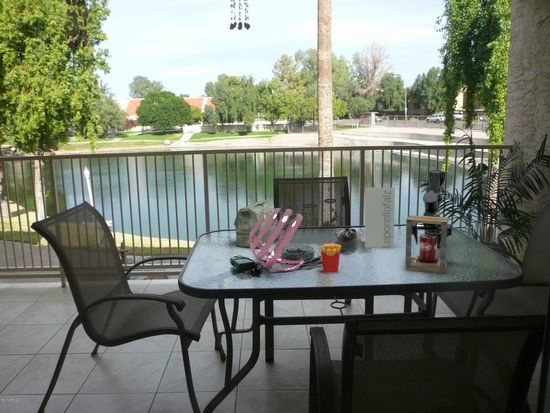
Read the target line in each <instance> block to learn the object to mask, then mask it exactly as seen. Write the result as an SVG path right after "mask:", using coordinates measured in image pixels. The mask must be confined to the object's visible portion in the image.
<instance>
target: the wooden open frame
mask: <svg viewBox="0 0 550 413" xmlns="http://www.w3.org/2000/svg"><path fill="white" fill-rule="evenodd" d="M405 221H406V225H405V228H406V229H405V231H406V232H405V263H404V265H405V269H404V270H405V271H411V272H421V273H422V272H423V273H431V274H432V273H433V274H441V275H442V274H443V275H446V271H447V266H448V260H447V243H448V242H447V239H448V237H447V224H449V217H448V216H440V217H433V216H423V215H413V214H410V215H408V217H407V218H406V220H405ZM412 223H417V224H423V223H428V224H442V230H441V247H440V257H436V263H435V264H429V263H421V262H420V261H419V255H417V256H415V257H412V238H413V237H412V236H413V235H412Z"/></svg>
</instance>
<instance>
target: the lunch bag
mask: <svg viewBox="0 0 550 413" xmlns="http://www.w3.org/2000/svg"><path fill="white" fill-rule="evenodd" d="M275 209H276V208H275V207H274V205H273V203H272V202H271V201H269V200H268V199H262V200H261V199H259V200H258V201H256V202H254V203H252V204H250V205H248V206H244V207H241V208H240V209H238V212H237V213H236V214H237V215H236V216H235V219H234V222H233V226H235V236H236V241H235V242H236V243H235V244H236V246H238V247H242V248H250V239H249V236H250V231H251V229H252V228H253V227H254V228H255V226H256V224H257V223H258V221H259V220H260V218H261V217H262V215H263V214H264V213H265V212H267V211H269V212H268V214H267V216H266V217H265V219H264V220H263V222H262V223H261V225H260V226H259V228H258V230H257V231H256V233H255V236H256V237H257V236H258V234H259V233H260V231H261V230H262V228H263V227H264V225H265V224H266V222H267V221H268V219H269V217H270V216H271V214H272V213H273V211H274V210H275ZM278 219H279V218H278V215H277V216H276V217H275V219H274V220H273V222H272V224H271V225H270V227H269V228H268V230H267V231H266V233H265V234H264V236H263V237H262V239H261V241H260V244H261V245H263V244H264V243H265V241H266V240H267V238H268V237H269V235H270V233H271V232H272V230H273V229H274V227H275V226H276V224H277V223H278V221H279V220H278ZM279 237H280V234H279V235H278V236H277V238H276V239H275V240H277V239H279ZM253 242H254V239H253V237H252V244H253ZM255 249H259V248H258V247H256V248H255Z"/></svg>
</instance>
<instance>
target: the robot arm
mask: <svg viewBox="0 0 550 413" xmlns="http://www.w3.org/2000/svg"><path fill="white" fill-rule="evenodd" d="M427 177H428V178H427V179H428V180H429V187H428V188H427V189H426V191H425V193H424V194H423V197H422V201H423V203H424V212H423V215H422V216H433V217H441V212H440V209H441V208H440V204H441V203H442V202H443V200H444V196H443V195H442V194H441V190H442V187H443V186H444V185H445V181H446V180H447V172H446V171H444V170H441V169H432V170H430V171H428V174H427ZM418 230H419V231H424V234H431V235H435V236H436V237H437V249H438V248H441V230H442V224H428V223H422V224H421V225H420V224H418V223H412V236H413V238H414V240H415V244H416V245H418V243H419V241H418V240H419V238H418V237H419V236H418V235H419V234H418ZM452 235H453V225H452V223H447V238H449V236H452Z"/></svg>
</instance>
